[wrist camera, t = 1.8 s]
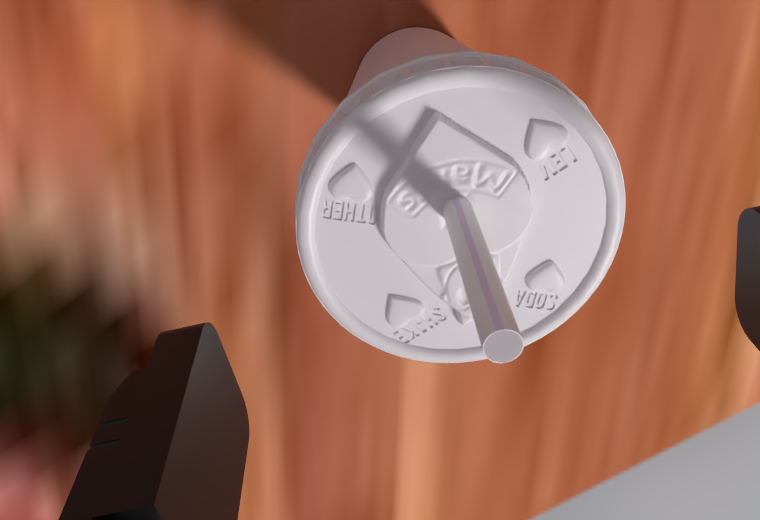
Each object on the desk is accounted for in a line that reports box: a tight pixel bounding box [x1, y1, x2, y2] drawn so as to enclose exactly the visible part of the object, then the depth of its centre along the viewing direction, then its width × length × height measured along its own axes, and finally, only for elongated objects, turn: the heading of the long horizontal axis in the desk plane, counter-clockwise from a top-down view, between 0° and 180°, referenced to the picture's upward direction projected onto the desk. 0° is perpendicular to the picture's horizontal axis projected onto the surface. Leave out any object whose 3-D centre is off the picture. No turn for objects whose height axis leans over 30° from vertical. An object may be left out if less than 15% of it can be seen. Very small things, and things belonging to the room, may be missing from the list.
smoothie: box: [294, 27, 625, 363], centre depth 16 cm, size 6×6×14 cm
